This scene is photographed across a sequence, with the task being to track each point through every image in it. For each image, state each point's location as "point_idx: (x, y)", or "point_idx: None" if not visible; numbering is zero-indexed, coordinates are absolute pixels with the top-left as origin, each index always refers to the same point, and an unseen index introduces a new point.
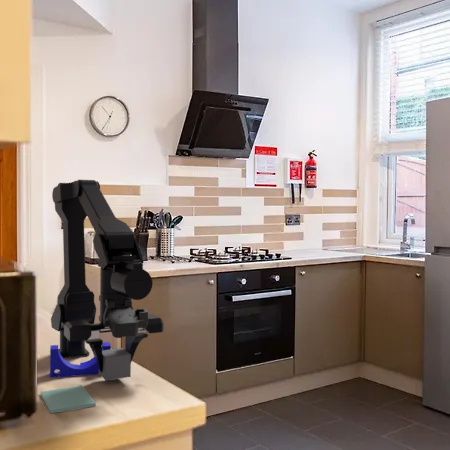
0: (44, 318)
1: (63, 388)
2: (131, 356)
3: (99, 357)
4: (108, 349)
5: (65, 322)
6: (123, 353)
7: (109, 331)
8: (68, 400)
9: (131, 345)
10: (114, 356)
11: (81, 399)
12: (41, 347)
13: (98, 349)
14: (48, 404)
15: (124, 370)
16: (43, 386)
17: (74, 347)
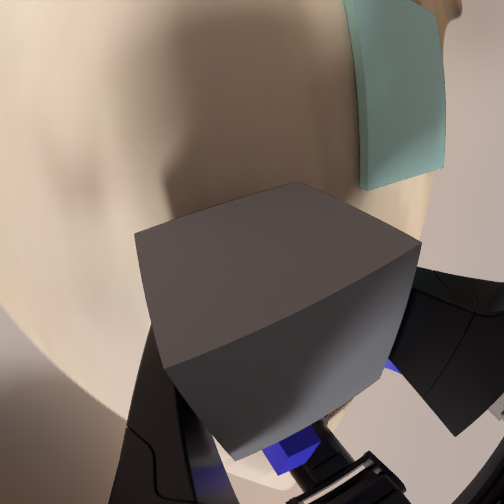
0: (292, 484)
1: (410, 175)
2: (150, 389)
3: (419, 276)
4: (289, 438)
5: (373, 472)
6: (253, 382)
7: (498, 471)
8: (412, 51)
9: (191, 494)
10: (365, 274)
11: (385, 34)
12: (332, 432)
13: (479, 296)
14: (441, 56)
15: (191, 241)
16: (419, 229)
17: None
